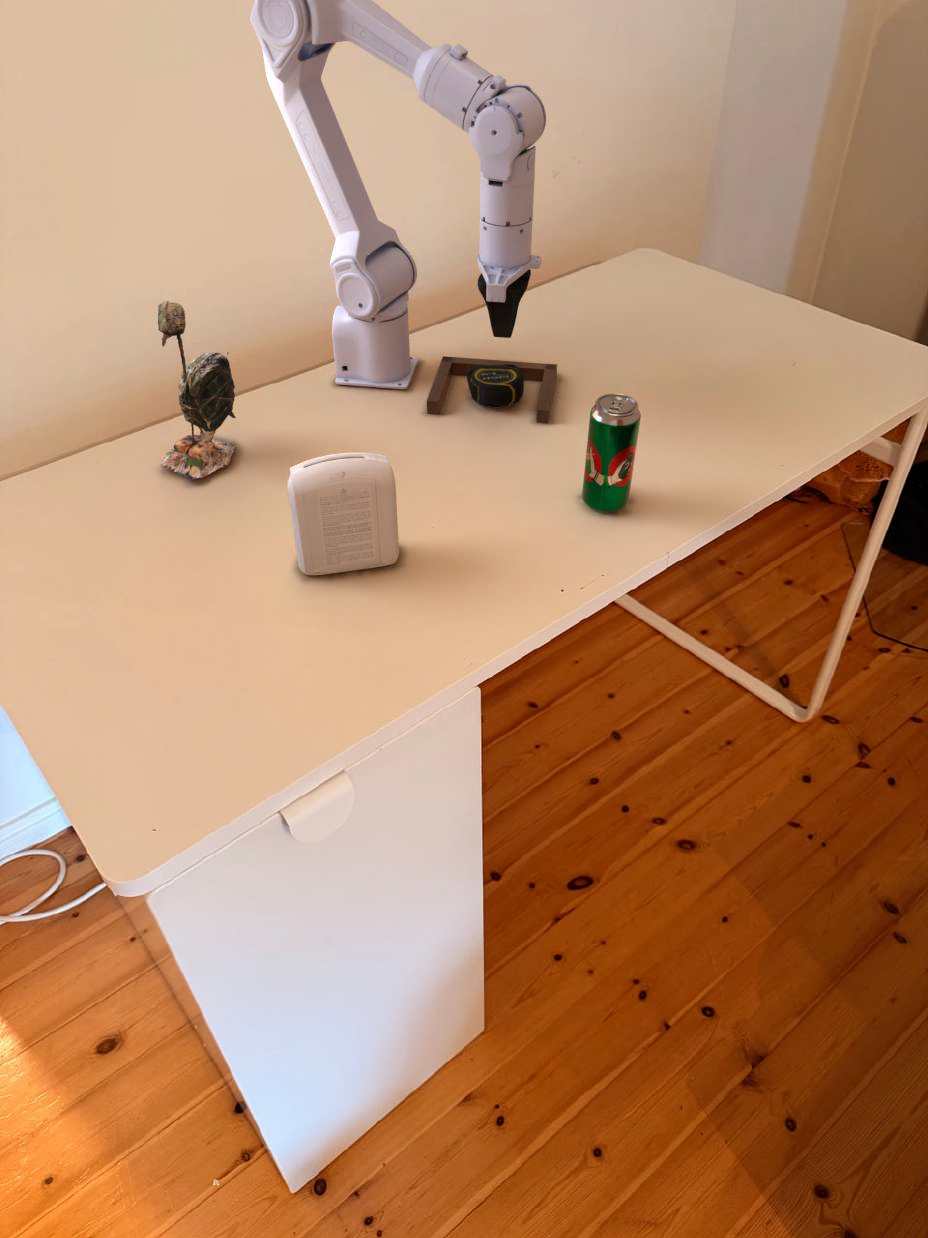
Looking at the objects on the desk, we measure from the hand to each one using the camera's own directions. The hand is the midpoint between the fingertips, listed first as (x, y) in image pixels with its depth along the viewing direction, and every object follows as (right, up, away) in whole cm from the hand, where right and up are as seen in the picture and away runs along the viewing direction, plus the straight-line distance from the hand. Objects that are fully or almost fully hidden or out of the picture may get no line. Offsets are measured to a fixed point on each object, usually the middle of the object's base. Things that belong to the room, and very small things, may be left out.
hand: (502, 334), depth 110 cm
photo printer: (-16, -28, -15) cm, 36 cm away
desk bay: (-1, -6, +8) cm, 10 cm away
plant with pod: (-34, -15, -1) cm, 37 cm away
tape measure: (-1, -6, +8) cm, 10 cm away
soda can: (+11, -21, -8) cm, 25 cm away
